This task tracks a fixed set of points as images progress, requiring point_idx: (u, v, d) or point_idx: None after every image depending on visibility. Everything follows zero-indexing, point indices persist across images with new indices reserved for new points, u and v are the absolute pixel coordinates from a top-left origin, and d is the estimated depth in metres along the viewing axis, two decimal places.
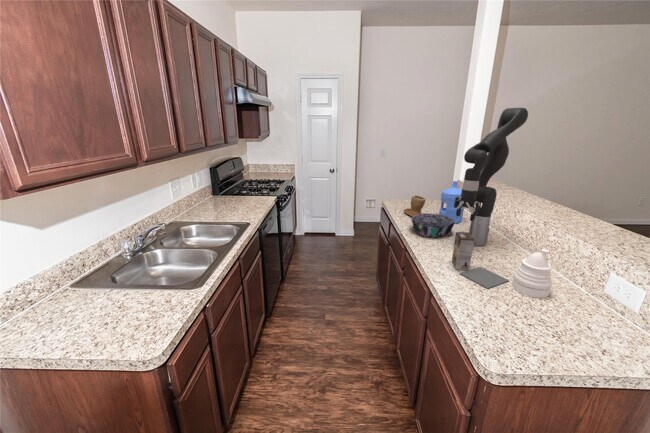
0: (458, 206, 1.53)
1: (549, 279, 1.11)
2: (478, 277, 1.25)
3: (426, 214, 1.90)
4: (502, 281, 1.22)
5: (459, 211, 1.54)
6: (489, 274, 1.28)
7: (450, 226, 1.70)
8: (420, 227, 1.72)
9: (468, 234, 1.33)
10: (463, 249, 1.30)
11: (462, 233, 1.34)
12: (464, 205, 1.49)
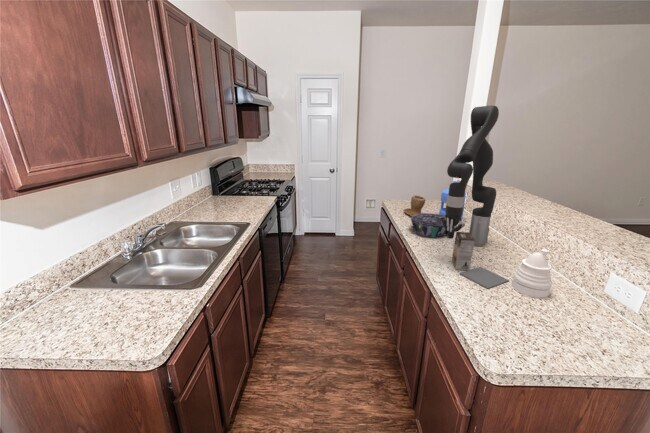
0: (447, 226, 1.39)
1: (549, 279, 1.11)
2: (478, 277, 1.25)
3: (425, 214, 1.90)
4: (502, 281, 1.22)
5: None
6: (489, 274, 1.28)
7: None
8: (420, 227, 1.72)
9: (468, 234, 1.33)
10: (464, 249, 1.30)
11: (463, 233, 1.34)
12: None
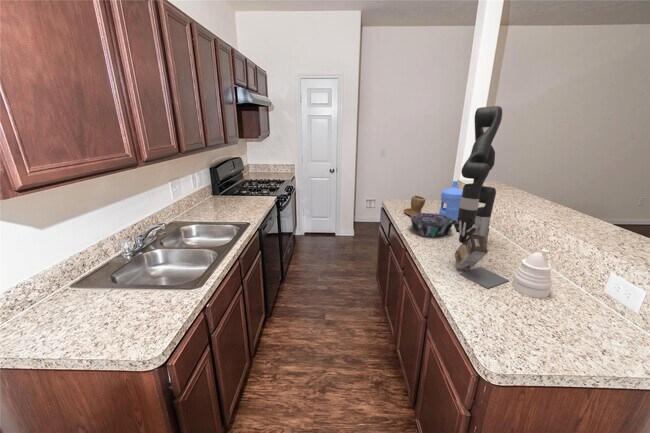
0: (460, 230, 1.31)
1: (549, 279, 1.11)
2: (478, 277, 1.25)
3: (425, 214, 1.90)
4: (502, 281, 1.22)
5: None
6: (489, 274, 1.28)
7: (449, 225, 1.71)
8: (419, 227, 1.72)
9: (482, 240, 1.24)
10: (473, 257, 1.24)
11: (477, 239, 1.25)
12: None
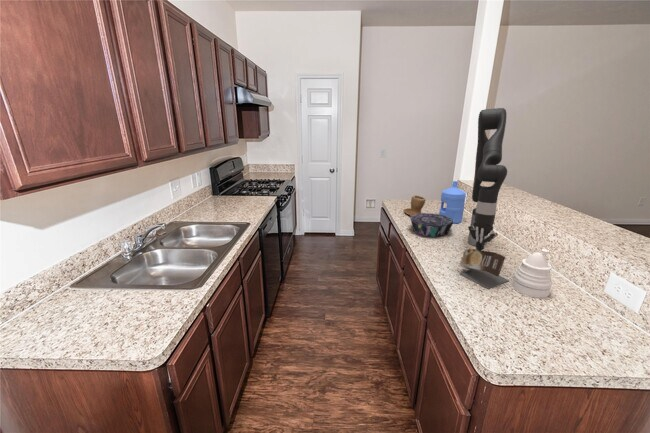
0: (476, 237, 1.24)
1: (549, 279, 1.11)
2: (478, 277, 1.25)
3: (425, 214, 1.90)
4: (502, 281, 1.22)
5: None
6: (489, 274, 1.28)
7: (449, 225, 1.71)
8: (419, 227, 1.72)
9: (501, 262, 1.18)
10: (481, 271, 1.22)
11: (497, 259, 1.17)
12: None
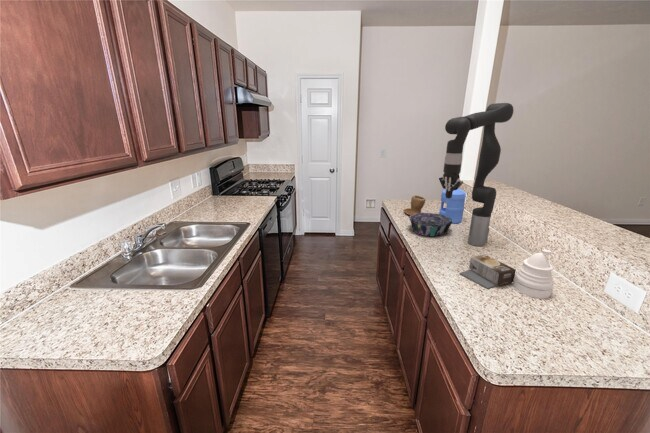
0: (446, 186, 1.38)
1: (551, 279, 1.10)
2: (478, 277, 1.25)
3: (423, 213, 1.91)
4: None
5: None
6: None
7: (448, 225, 1.72)
8: (419, 226, 1.73)
9: (509, 281, 1.20)
10: (488, 271, 1.22)
11: (511, 275, 1.19)
12: None
